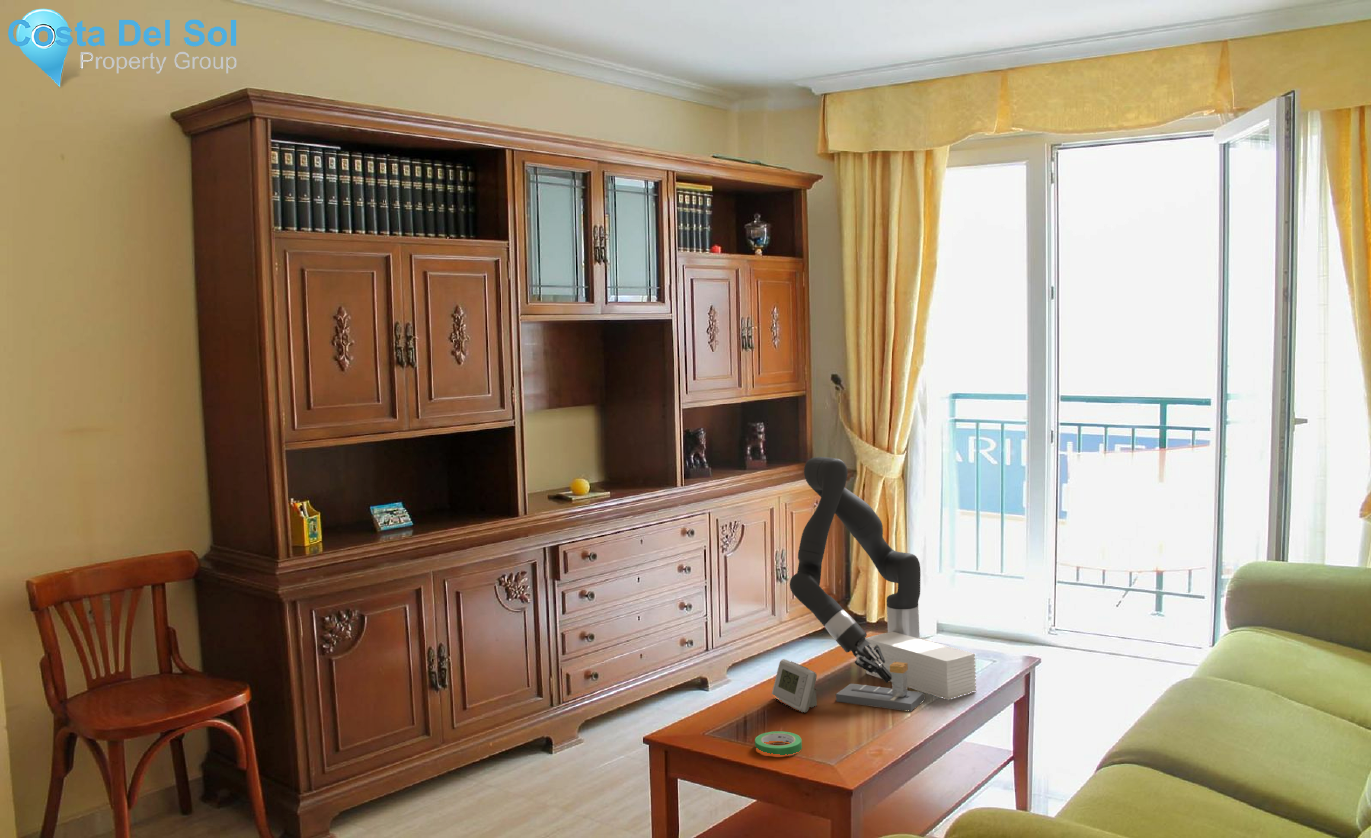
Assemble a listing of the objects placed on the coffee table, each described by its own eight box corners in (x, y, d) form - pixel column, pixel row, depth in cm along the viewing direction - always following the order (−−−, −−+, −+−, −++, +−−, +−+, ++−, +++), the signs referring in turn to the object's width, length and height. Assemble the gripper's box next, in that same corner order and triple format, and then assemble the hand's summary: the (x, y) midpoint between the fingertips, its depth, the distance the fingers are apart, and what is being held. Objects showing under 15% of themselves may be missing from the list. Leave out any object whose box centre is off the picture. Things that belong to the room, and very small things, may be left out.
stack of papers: (976, 692, 285) (974, 653, 284) (948, 701, 279) (946, 661, 278) (893, 667, 312) (891, 631, 311) (866, 674, 306) (864, 637, 306)
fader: (895, 692, 281) (894, 661, 280) (908, 693, 279) (907, 663, 279) (890, 695, 278) (889, 665, 277) (904, 697, 276) (902, 666, 276)
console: (851, 690, 291) (850, 682, 291) (924, 700, 280) (924, 692, 280) (836, 701, 283) (835, 693, 283) (911, 711, 272) (911, 703, 272)
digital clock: (769, 698, 289) (768, 660, 288) (800, 693, 291) (798, 655, 290) (791, 716, 273) (789, 676, 272) (823, 711, 275) (821, 671, 275)
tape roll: (811, 748, 251) (810, 737, 251) (782, 762, 243) (782, 751, 243) (774, 738, 259) (774, 727, 258) (745, 752, 251) (745, 741, 250)
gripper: (844, 627, 278) (890, 678, 272) (863, 616, 289) (908, 664, 284) (826, 645, 281) (871, 696, 275) (846, 633, 293) (890, 682, 287)
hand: (890, 680), depth 280 cm, fingers closed
